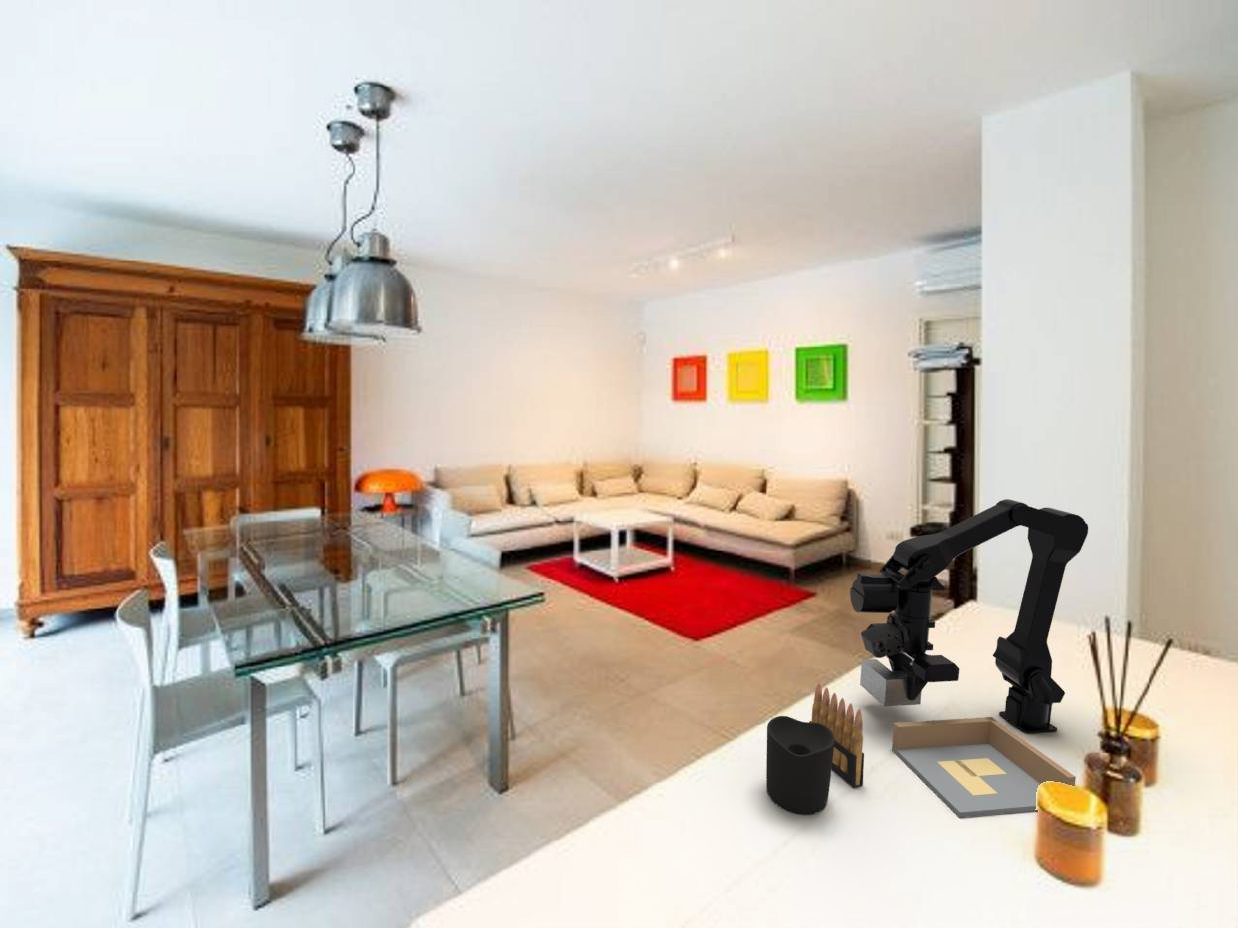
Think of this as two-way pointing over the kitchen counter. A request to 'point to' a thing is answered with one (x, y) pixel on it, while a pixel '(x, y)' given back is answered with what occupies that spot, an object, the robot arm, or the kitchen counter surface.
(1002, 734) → the arena
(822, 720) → the ammunition clip
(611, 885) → the kitchen counter surface
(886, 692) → the angle bracket
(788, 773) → the pen holder
